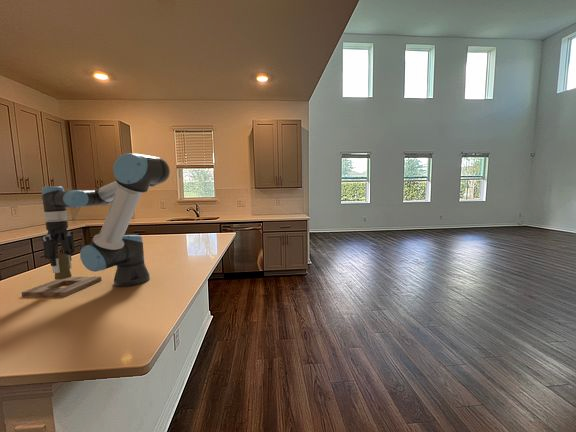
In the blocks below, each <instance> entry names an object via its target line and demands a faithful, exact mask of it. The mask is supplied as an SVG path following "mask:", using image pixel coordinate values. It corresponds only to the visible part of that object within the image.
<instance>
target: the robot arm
mask: <svg viewBox="0 0 576 432" xmlns="http://www.w3.org/2000/svg"><path fill="white" fill-rule="evenodd" d="M112 171H113V176H114V178H115V181H113V182H111V183H108V184H105V185H102V186H101V187H99V188H96V189H82V190H81V189H71V190H70V189H69V190H65V189H64V187H63V186H61V185H60V186H57V185H56V186H54V185H53V186H43V187H42V188H41V197H42V206H43V211H44V212H43V213H44V220H45V221H46V222H45V229H46V231H47V235H44V236H41V237H40V239H41V241H42V243H43V244H42V245H43V253H44V255H43V256H44V259H47V260H50V266H51V267H52V273H53V274H55V273H60V268H59V259H58V258H56V257H57V254H58V248H59V244H60V245H61V248H62V250H63V254H67V255H68V260H67V262H68V265H69V268H70V270H71V269H72V255H74V253H75V252H76V250H75V249H76V248H75V242H74V235H75V233H74V231H68V230H67V229H68V228H69V224H68V223H69V222H68V220H67V219H68V213H67V208H74V209H76V208H81V207H82V208H83V207H94V206H106V205H110V206H109V208H108V212H107V214H106V217H105V218H104V222H103V223H102V227H101V229H100V231H99V233H97V234H94V236H93V237H92V240H91V242H90V244H87V245H85V246H83V247H81V249H80V253H79V258H80V261H81V263H82V264H83V266H84V267H85V268H86V269H87V270H88V271H90V272H101V271H105V270H107V269H111V268H113V267H116V271H115V274H114V278H113V285H114V286H115V287H132V286H136V285H140V284H143V283H146V282H147V281H149V280H150V278H151V277H150V272H149V270H148V268H147V266H146V263H145V254H144V242H143V237H142V235H139V234H126V231H127V229H128V227H129V224H130V222H131V220H132V218H133V215H134V213H135V211H136V208H137V205H138V204H139V201H140V199H141V196H142V194H145V193H147V192H148V190H149V189H150V187H155V186H158V185H161V184H163V183H164V182H166V181H167V180H168V178H169V177H170V173H171V168H170V166H169V164H168V163H167V161H165V160H164V159H163V158H161V157H159V156H153V155H147V154H140V153H137V152H135V153H133V152H132V153H130V152H128V153H124V154H121V155H120V156H118V157H117V158H116V160H115V161H114V163H113V167H112Z"/></svg>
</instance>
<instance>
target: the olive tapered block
mask: <svg viewBox="0 0 576 432" xmlns="http://www.w3.org/2000/svg"><path fill="white" fill-rule="evenodd" d="M56 258H58V259H59V268H60V273H54V280H59V279H65V278H69V277H73V276H72V272H71V269H70V268H69V265H68V262H67V260H68V255H67V254H65V253H57V257H56Z"/></svg>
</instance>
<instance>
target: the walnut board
mask: <svg viewBox="0 0 576 432" xmlns="http://www.w3.org/2000/svg"><path fill="white" fill-rule="evenodd" d="M102 280H103V279H102V276H71V277H69V278H65V279H59V280H56V279H53V280H51V281H49V282H48V281H47V282H46V283H43V284H40V285H37V286H35V287H32V288H30V289H27V290H24V291H21V297H23V298H25V297H26V298H29V297H31V298H34V297H35V298H37V297H38V298H41V297H42V298H66V297H69V296H70V295H73V294H75V293H76V292H79V291H81V290H83V289H86V288H88V287H90V286H92V285H95V284H98V283H99V282H102ZM64 285H66V286H64ZM62 286H64V287H62Z"/></svg>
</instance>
